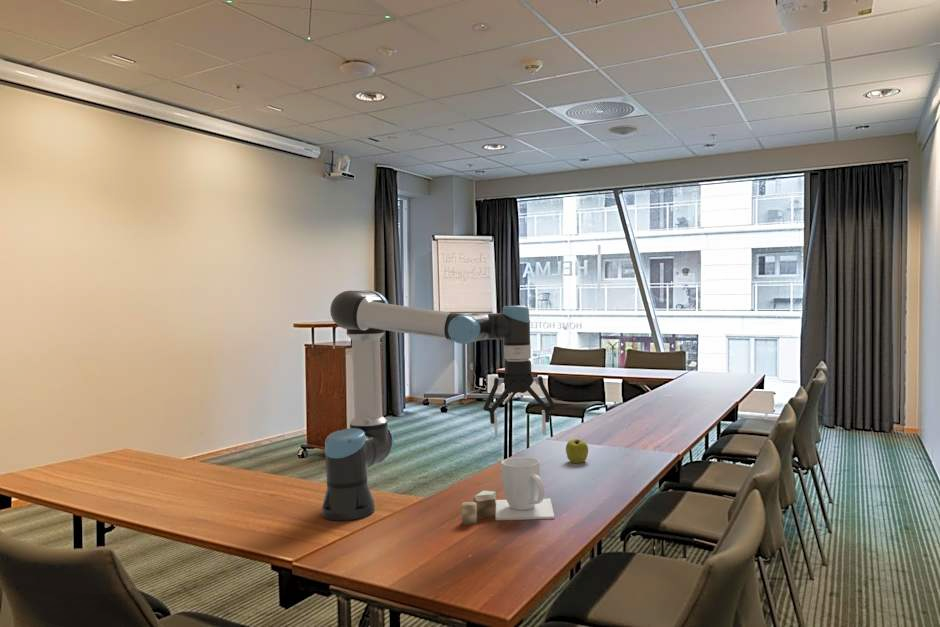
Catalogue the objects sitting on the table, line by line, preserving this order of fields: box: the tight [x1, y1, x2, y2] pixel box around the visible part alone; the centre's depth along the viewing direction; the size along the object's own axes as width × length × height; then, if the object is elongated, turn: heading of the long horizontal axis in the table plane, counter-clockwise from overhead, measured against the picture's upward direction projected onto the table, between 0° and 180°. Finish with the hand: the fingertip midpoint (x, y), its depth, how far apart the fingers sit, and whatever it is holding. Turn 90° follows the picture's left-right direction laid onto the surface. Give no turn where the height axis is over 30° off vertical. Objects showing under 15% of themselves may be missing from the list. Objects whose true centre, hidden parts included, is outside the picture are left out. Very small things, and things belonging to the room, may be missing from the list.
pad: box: [495, 497, 555, 521], centre depth 184 cm, size 16×16×1 cm
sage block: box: [475, 490, 497, 506], centre depth 188 cm, size 4×6×4 cm, turn 154°
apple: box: [565, 436, 589, 464], centre depth 234 cm, size 8×8×10 cm
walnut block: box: [473, 494, 496, 520], centre depth 181 cm, size 5×5×5 cm
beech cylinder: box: [461, 501, 478, 526], centre depth 175 cm, size 4×4×5 cm
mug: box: [501, 456, 545, 510], centre depth 183 cm, size 15×11×13 cm
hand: (520, 434), depth 183 cm, fingers open, 13 cm apart
